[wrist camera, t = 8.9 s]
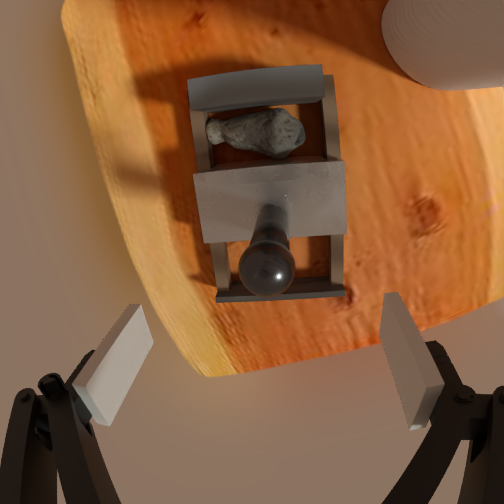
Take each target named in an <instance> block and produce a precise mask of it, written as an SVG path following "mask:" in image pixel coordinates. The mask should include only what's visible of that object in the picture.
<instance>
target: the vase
mask: <svg viewBox="0 0 504 504" xmlns="http://www.w3.org/2000/svg"><path fill="white" fill-rule="evenodd" d="M381 28H382V34H383V39H384V41H385V44H386V47H387V49H388V51H389V53H390V54H391V56H392V57H393V59H394V60H395V62H396V63H397V64H398V65H399V67H400V68H401V69H402V70H403V71H404V72H405V73H406V74H407V75H409V76H410V77H411V78H413V79H414V80H415V81H417V82H419V83H420V84H422V85H424V86H427V87H429V88H433V89H437V90H444V91H456V90H470V89H481V88H492V87H504V0H389V1H388V3H387V4H386V6H385V8H384V11H383V14H382V20H381Z"/></svg>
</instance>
